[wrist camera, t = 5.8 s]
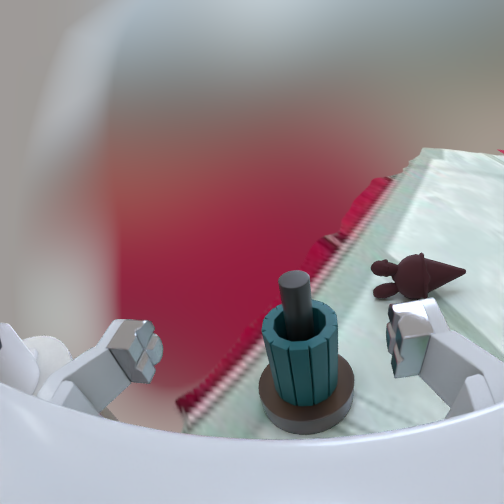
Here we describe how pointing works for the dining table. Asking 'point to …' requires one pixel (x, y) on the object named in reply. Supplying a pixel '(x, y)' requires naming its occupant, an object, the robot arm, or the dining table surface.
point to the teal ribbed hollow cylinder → (303, 357)
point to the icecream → (413, 276)
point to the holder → (302, 329)
